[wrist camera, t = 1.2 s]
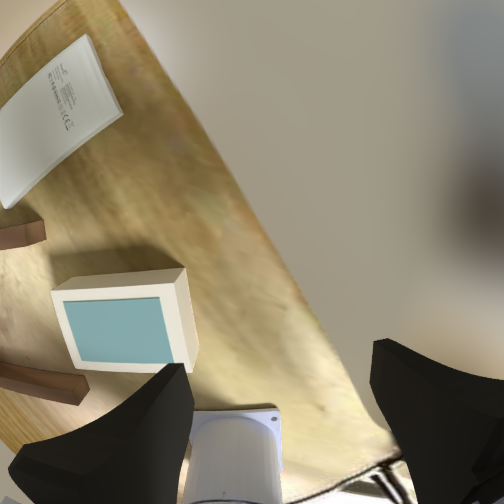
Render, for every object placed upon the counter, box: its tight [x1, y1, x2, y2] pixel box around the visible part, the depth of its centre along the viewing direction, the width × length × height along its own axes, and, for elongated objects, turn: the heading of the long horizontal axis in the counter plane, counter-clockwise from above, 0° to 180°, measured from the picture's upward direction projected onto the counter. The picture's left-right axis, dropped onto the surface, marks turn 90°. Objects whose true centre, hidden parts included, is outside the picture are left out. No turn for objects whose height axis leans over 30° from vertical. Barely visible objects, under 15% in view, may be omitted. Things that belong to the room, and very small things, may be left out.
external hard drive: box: [0, 34, 124, 209], centre depth 17 cm, size 2×8×12 cm
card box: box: [50, 267, 200, 373], centre depth 19 cm, size 6×9×4 cm, turn 95°
